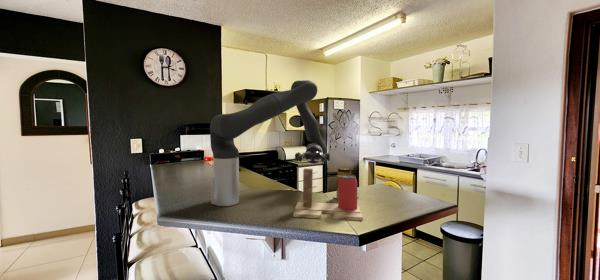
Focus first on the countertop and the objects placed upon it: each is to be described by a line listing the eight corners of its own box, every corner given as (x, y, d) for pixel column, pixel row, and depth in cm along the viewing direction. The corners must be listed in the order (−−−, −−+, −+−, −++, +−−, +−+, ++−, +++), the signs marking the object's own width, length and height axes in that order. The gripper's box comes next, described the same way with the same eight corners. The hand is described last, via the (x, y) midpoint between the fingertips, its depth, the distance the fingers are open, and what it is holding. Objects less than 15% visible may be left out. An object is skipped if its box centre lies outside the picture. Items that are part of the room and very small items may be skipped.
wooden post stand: (294, 211, 89) (295, 171, 88) (297, 204, 97) (298, 167, 96) (360, 214, 87) (361, 173, 86) (358, 207, 95) (359, 168, 94)
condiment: (332, 197, 107) (332, 168, 107) (346, 194, 112) (346, 166, 112) (345, 201, 101) (345, 170, 101) (359, 198, 107) (360, 168, 106)
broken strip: (292, 216, 84) (293, 213, 84) (294, 212, 88) (294, 209, 88) (362, 220, 82) (362, 217, 82) (361, 216, 86) (361, 213, 86)
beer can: (355, 214, 87) (355, 178, 86) (336, 212, 89) (336, 177, 89) (358, 208, 93) (358, 174, 92) (340, 206, 95) (340, 174, 95)
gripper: (298, 145, 119) (293, 149, 103) (330, 145, 117) (329, 149, 101) (298, 161, 119) (293, 168, 103) (330, 162, 117) (329, 168, 101)
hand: (311, 159), depth 102 cm, fingers open, 8 cm apart
